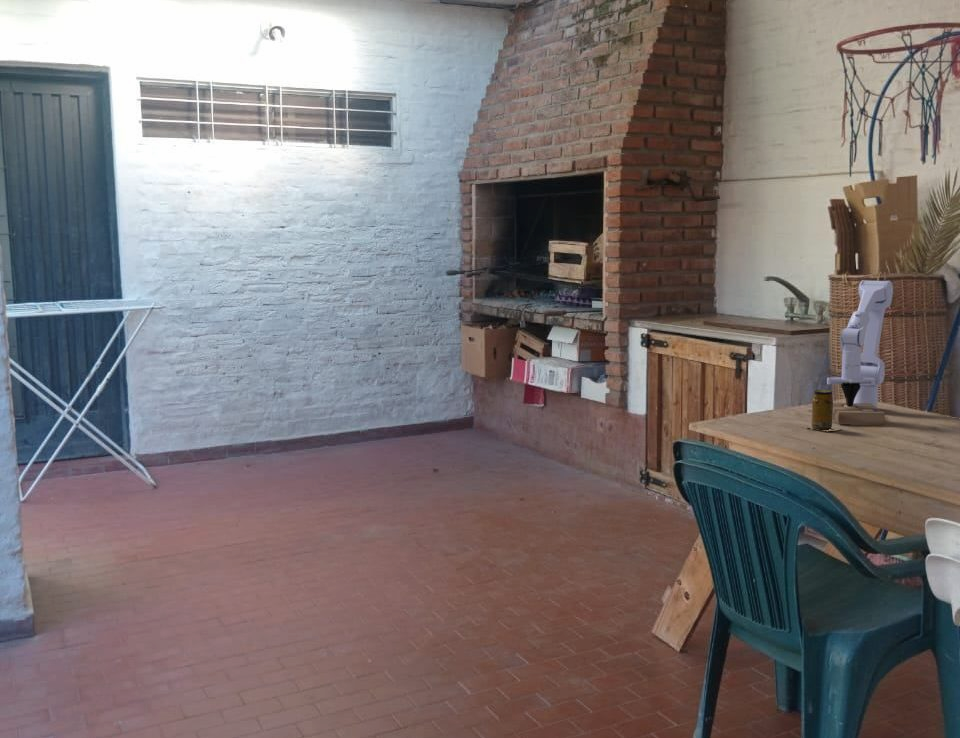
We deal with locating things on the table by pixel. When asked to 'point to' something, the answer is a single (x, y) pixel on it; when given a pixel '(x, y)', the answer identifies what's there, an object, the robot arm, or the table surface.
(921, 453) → the table surface
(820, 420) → the condiment
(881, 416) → the board
